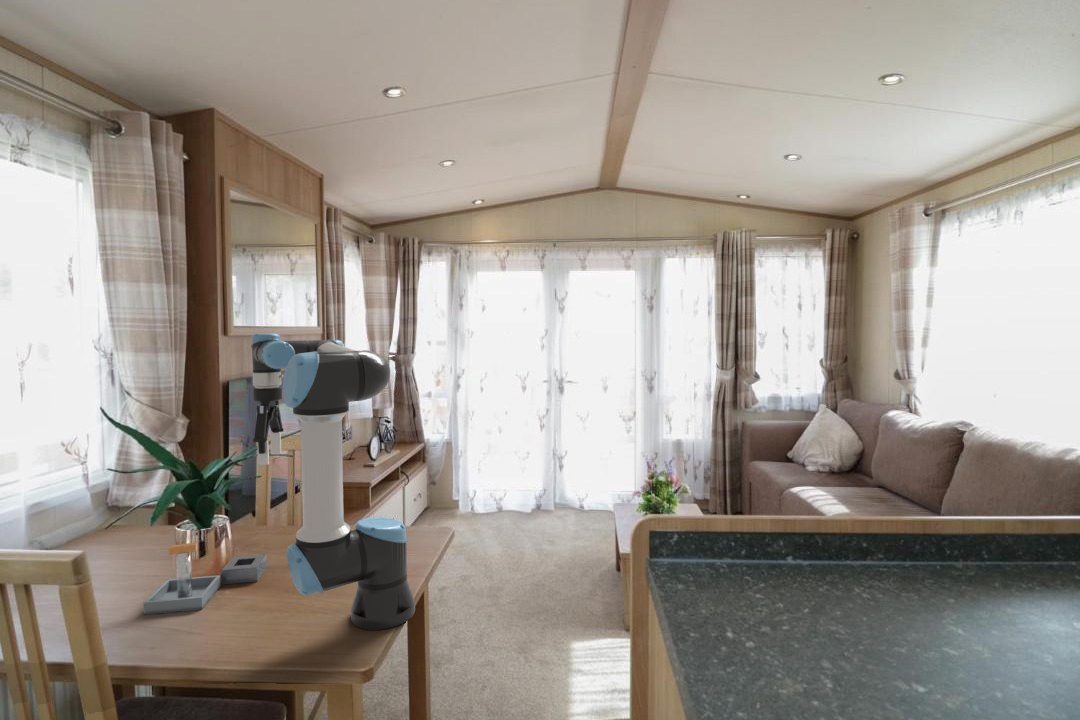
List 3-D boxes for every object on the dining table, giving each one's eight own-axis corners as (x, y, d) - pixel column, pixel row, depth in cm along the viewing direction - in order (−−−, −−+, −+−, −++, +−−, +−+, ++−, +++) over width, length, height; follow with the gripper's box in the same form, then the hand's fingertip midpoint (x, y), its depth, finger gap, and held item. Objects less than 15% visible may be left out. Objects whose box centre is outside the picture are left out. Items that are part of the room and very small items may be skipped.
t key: (169, 602, 143) (167, 549, 142) (173, 596, 146) (171, 544, 145) (196, 598, 145) (195, 545, 144) (199, 592, 148) (197, 541, 147)
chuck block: (257, 581, 156) (257, 567, 156) (222, 584, 154) (221, 570, 154) (266, 567, 165) (266, 554, 165) (233, 570, 163) (232, 557, 163)
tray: (202, 609, 141) (201, 597, 141) (144, 614, 138) (143, 602, 138) (221, 585, 153) (220, 575, 153) (168, 590, 151) (167, 579, 151)
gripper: (269, 391, 152) (272, 468, 153) (291, 382, 177) (293, 449, 178) (239, 391, 151) (242, 470, 152) (265, 383, 175) (268, 450, 176)
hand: (270, 459), depth 165 cm, fingers open, 13 cm apart
